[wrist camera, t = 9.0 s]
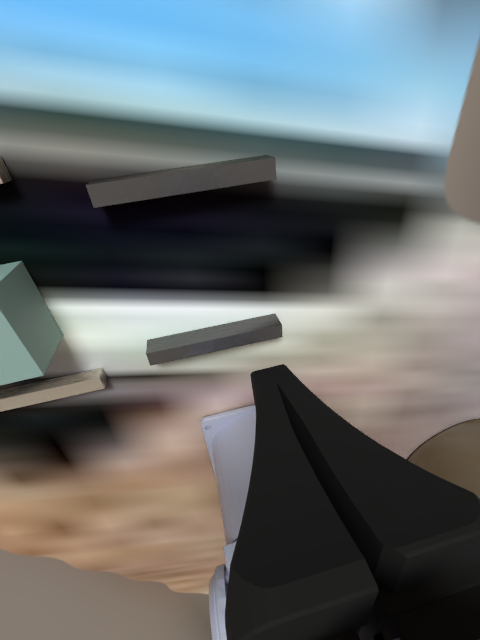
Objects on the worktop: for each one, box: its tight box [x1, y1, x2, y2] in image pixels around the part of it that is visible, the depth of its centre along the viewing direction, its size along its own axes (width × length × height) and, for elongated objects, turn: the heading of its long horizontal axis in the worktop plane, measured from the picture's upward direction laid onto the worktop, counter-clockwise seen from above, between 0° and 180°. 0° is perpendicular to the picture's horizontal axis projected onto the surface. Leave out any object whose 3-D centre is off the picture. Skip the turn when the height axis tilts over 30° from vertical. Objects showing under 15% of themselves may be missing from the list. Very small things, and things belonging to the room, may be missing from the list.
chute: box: [0, 155, 282, 412], centre depth 17 cm, size 14×26×2 cm, turn 96°
